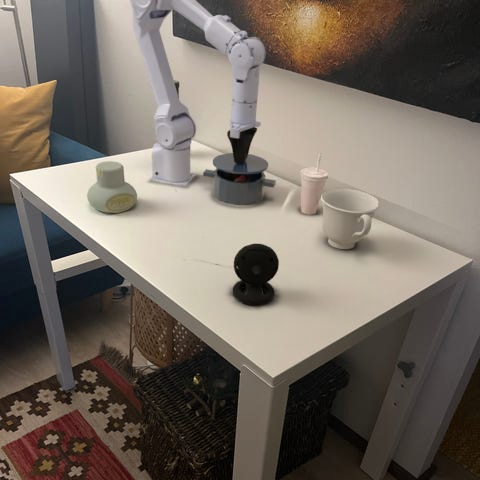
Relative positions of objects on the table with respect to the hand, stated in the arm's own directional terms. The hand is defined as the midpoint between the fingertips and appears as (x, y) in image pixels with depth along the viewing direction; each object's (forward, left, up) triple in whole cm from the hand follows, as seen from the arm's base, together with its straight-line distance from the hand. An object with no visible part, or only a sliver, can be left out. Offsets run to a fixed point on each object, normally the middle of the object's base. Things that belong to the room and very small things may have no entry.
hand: (240, 160), depth 119 cm
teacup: (+28, -16, -9) cm, 34 cm away
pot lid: (0, 0, -1) cm, 1 cm away
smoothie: (+18, -1, -9) cm, 20 cm away
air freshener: (-25, -18, -9) cm, 32 cm away
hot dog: (0, 0, -9) cm, 9 cm away
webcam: (+14, -41, -9) cm, 45 cm away
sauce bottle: (-26, +23, -9) cm, 36 cm away
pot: (0, 0, -9) cm, 9 cm away
